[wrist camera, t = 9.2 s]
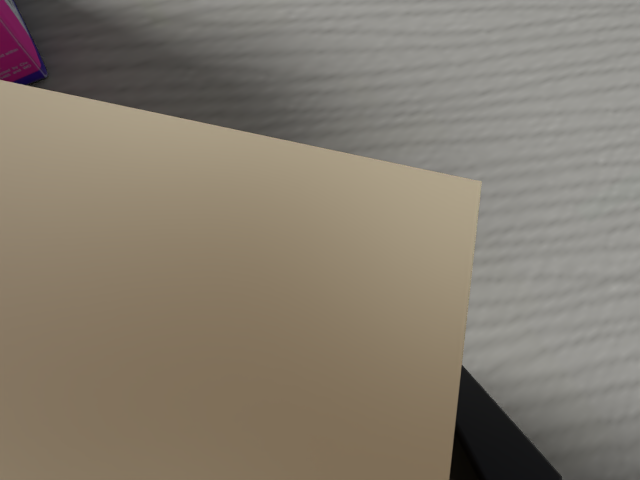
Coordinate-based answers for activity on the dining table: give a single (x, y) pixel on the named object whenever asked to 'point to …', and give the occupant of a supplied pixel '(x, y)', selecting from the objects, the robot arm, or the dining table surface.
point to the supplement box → (18, 48)
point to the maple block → (221, 301)
